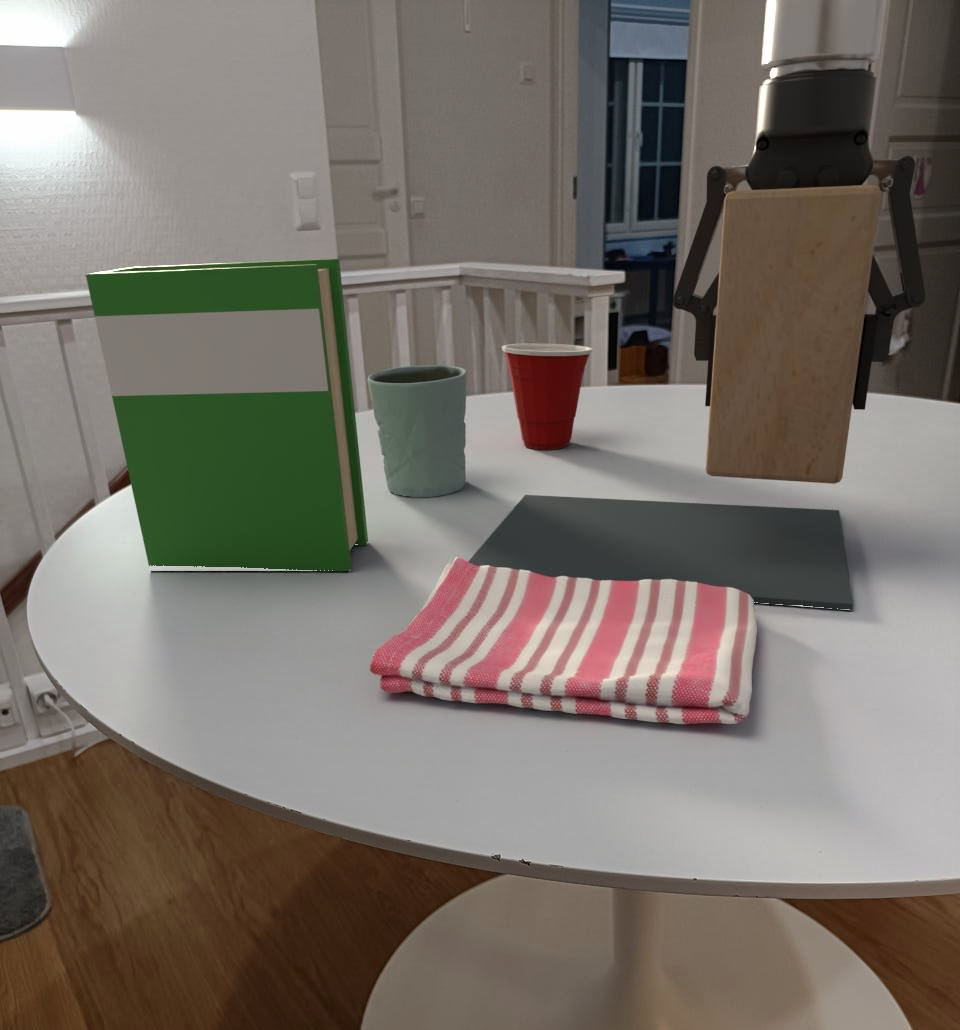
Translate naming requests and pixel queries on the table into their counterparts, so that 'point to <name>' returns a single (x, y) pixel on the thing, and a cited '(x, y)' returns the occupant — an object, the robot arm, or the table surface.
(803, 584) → the mat
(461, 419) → the green ceramic cup
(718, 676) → the dish towel
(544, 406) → the plastic cup
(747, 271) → the wooden block
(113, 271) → the hardback book
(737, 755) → the table surface
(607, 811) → the table surface
